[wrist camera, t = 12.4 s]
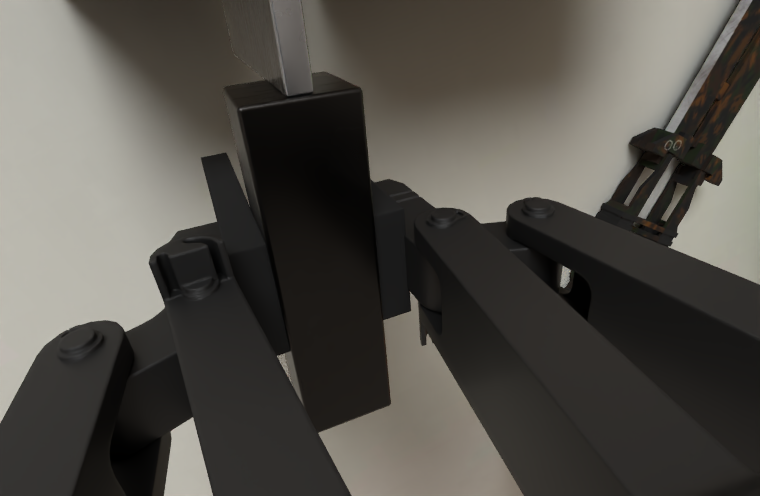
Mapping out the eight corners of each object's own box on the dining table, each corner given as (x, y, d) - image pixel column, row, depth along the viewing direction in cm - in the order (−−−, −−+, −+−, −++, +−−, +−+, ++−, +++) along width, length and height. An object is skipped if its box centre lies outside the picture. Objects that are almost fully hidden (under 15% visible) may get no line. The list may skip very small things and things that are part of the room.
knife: (857, -222, 19) (902, -236, 18) (895, -116, 23) (934, -121, 21) (532, 294, 25) (549, 308, 24) (599, 317, 29) (618, 330, 28)
